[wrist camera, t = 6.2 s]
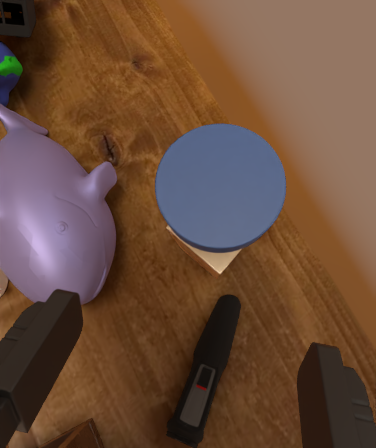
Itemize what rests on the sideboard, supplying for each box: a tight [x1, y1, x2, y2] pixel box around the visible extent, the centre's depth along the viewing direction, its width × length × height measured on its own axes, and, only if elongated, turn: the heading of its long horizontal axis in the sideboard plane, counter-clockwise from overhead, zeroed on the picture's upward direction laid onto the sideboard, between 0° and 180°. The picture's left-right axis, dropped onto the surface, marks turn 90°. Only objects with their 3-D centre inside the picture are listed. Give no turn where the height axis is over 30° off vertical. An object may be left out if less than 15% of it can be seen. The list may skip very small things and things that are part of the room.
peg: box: [155, 124, 286, 253], centre depth 21 cm, size 6×6×10 cm
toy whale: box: [0, 104, 117, 305], centre depth 33 cm, size 14×25×16 cm, turn 28°
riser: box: [166, 225, 243, 279], centre depth 32 cm, size 6×6×12 cm
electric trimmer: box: [166, 295, 241, 448], centre depth 34 cm, size 4×16×3 cm, turn 159°
